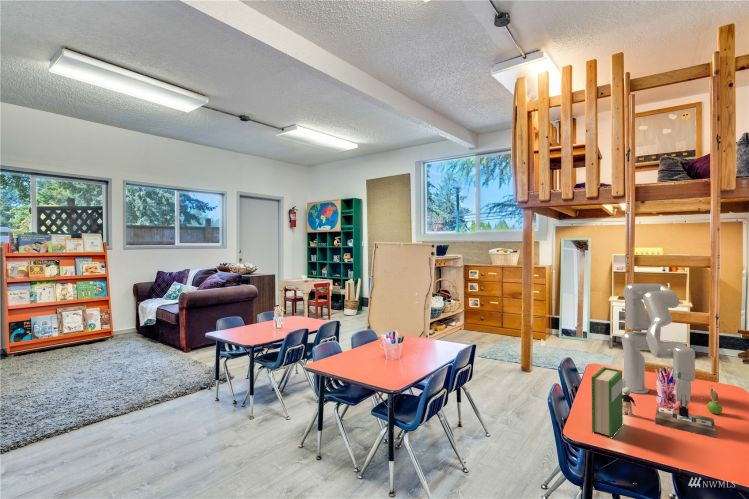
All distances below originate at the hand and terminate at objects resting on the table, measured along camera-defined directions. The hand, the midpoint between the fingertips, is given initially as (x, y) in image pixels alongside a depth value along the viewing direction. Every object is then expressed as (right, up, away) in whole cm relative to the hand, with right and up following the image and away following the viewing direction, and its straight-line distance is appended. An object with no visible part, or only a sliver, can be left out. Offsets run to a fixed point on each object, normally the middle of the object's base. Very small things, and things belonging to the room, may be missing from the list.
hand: (683, 415), depth 167 cm
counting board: (0, -4, 0) cm, 4 cm away
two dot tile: (-5, -2, +4) cm, 7 cm away
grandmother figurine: (-18, -4, +11) cm, 21 cm away
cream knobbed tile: (+5, -3, -4) cm, 8 cm away
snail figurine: (+23, -3, +11) cm, 26 cm away
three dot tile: (0, -3, 0) cm, 3 cm away
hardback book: (-35, -5, -3) cm, 36 cm away
